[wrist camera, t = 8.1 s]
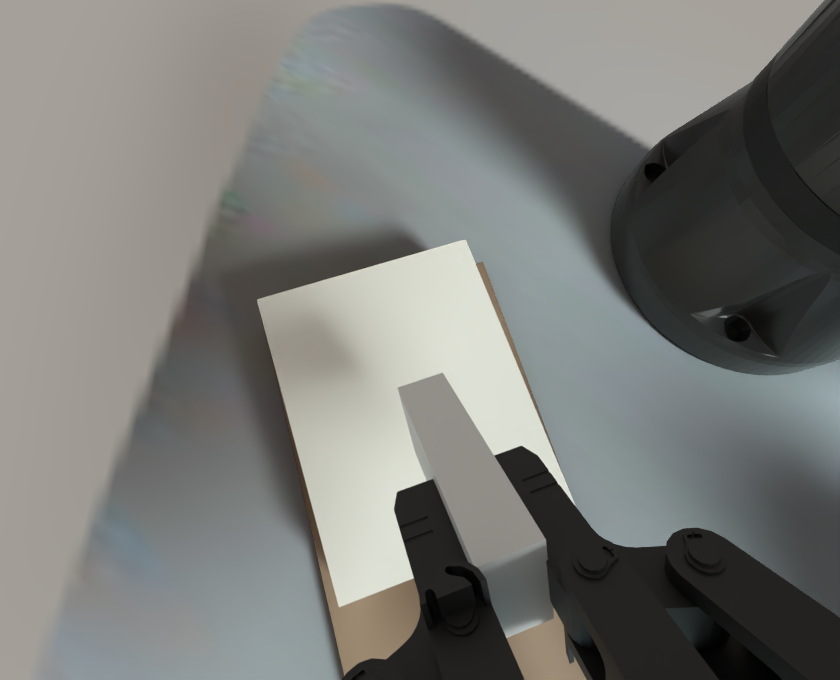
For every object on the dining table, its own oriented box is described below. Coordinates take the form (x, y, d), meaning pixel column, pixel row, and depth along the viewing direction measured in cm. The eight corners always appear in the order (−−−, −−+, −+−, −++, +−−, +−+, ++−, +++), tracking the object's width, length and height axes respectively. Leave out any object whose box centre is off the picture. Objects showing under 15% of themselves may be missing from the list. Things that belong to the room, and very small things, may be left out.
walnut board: (480, 268, 27) (482, 262, 26) (674, 788, 20) (685, 800, 19) (267, 324, 25) (263, 319, 24) (401, 910, 18) (401, 928, 18)
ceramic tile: (578, 513, 19) (465, 239, 23) (338, 607, 18) (256, 299, 21) (552, 509, 22) (456, 269, 26) (347, 589, 21) (274, 323, 24)
